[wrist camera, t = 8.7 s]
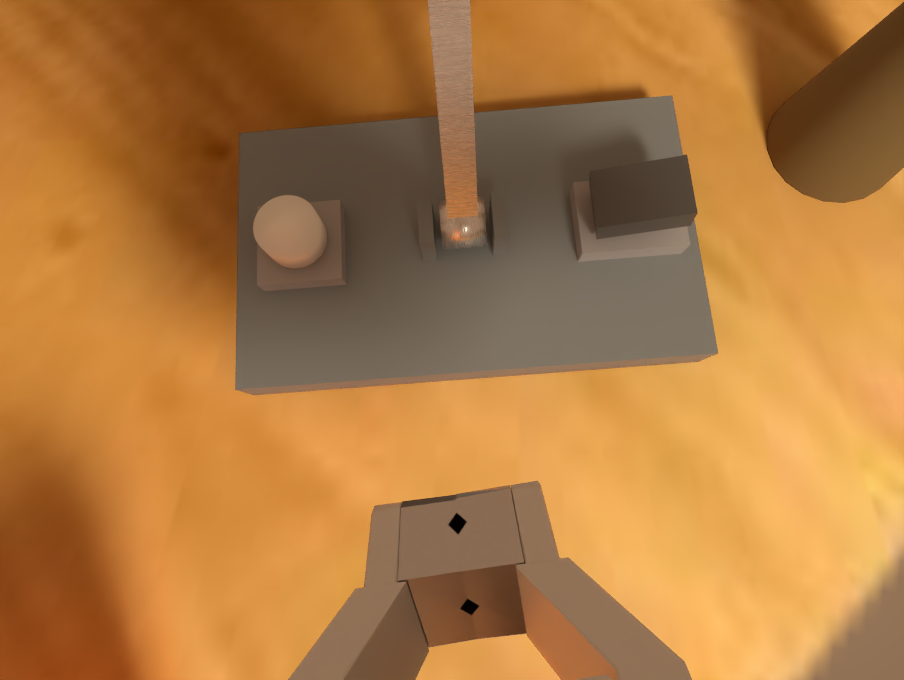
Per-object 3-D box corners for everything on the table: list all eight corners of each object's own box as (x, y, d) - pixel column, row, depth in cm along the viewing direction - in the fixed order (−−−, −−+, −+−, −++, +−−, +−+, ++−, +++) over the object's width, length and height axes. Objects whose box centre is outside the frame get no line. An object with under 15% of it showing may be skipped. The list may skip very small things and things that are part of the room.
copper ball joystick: (436, 263, 22) (388, -138, 13) (435, 226, 24) (391, -159, 14) (494, 258, 22) (491, -148, 13) (489, 221, 24) (483, -168, 14)
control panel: (254, 395, 25) (213, 383, 21) (256, 156, 27) (219, 105, 23) (698, 361, 24) (741, 343, 20) (657, 122, 27) (689, 64, 23)
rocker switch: (596, 239, 22) (597, 227, 21) (589, 185, 22) (590, 170, 21) (690, 225, 21) (697, 212, 20) (680, 170, 22) (686, 154, 21)
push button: (266, 271, 23) (252, 258, 21) (266, 213, 23) (253, 197, 22) (328, 266, 22) (318, 253, 21) (326, 208, 23) (317, 192, 22)
